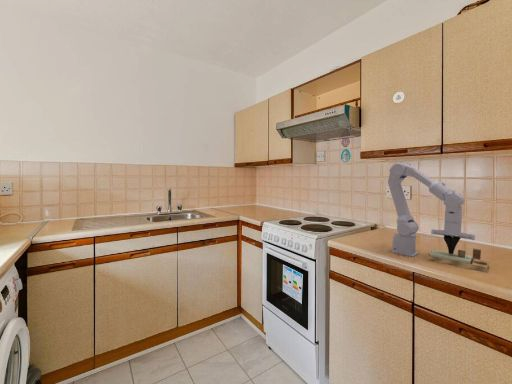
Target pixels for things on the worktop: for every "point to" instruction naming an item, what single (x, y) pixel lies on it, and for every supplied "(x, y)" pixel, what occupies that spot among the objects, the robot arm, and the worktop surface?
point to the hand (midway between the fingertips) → (451, 253)
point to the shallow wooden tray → (462, 263)
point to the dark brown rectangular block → (476, 254)
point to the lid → (452, 255)
